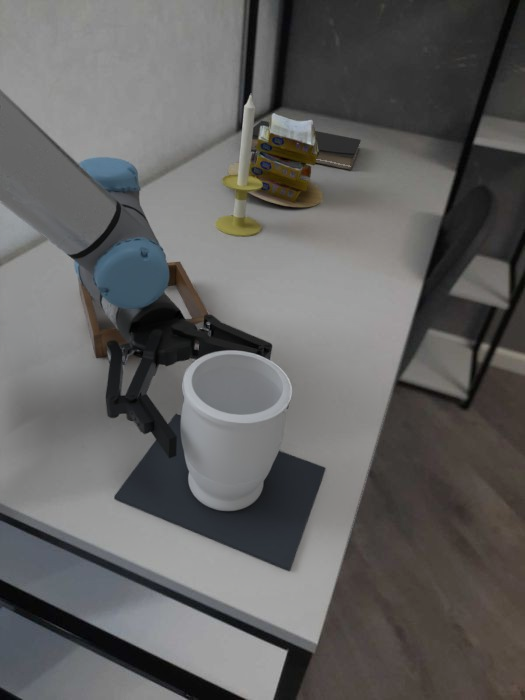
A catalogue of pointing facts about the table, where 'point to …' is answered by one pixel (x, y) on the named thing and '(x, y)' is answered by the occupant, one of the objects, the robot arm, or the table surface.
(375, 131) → the table surface
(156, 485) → the mat
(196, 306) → the wooden square frame
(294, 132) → the snack boxes on plate
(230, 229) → the candle
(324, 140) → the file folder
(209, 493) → the jar
